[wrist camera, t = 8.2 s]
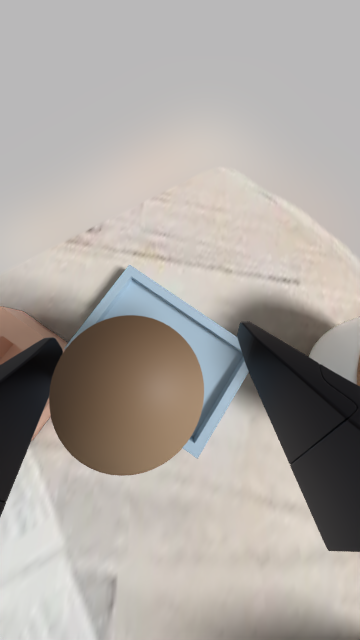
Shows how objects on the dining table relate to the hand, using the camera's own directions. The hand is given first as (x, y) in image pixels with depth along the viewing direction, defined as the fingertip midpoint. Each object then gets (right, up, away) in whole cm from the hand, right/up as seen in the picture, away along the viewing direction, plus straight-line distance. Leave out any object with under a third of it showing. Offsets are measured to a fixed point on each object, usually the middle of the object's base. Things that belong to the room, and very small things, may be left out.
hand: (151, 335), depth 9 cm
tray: (0, -2, +8) cm, 8 cm away
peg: (0, -2, +7) cm, 7 cm away
